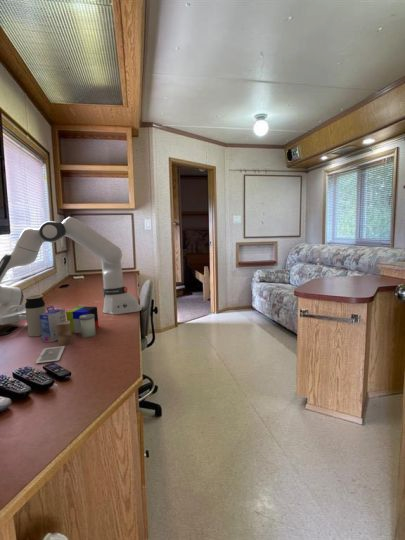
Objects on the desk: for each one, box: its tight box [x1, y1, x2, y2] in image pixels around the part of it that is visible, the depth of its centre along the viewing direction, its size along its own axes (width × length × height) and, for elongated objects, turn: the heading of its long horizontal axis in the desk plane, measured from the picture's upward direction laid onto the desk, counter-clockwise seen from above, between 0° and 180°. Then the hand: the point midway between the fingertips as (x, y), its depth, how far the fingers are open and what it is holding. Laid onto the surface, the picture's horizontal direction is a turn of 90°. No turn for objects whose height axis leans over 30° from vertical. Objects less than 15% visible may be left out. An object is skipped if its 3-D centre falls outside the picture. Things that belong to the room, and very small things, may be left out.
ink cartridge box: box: [39, 305, 67, 343], centre depth 137 cm, size 10×6×14 cm, turn 161°
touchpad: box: [35, 345, 66, 364], centre depth 118 cm, size 8×15×2 cm, turn 16°
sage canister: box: [79, 314, 96, 338], centre depth 140 cm, size 6×6×9 cm
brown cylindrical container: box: [56, 320, 73, 347], centre depth 131 cm, size 5×5×9 cm
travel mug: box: [24, 294, 47, 337], centre depth 144 cm, size 8×8×18 cm
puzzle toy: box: [65, 306, 99, 334], centre depth 149 cm, size 10×10×10 cm
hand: (28, 317), depth 149 cm, fingers closed
